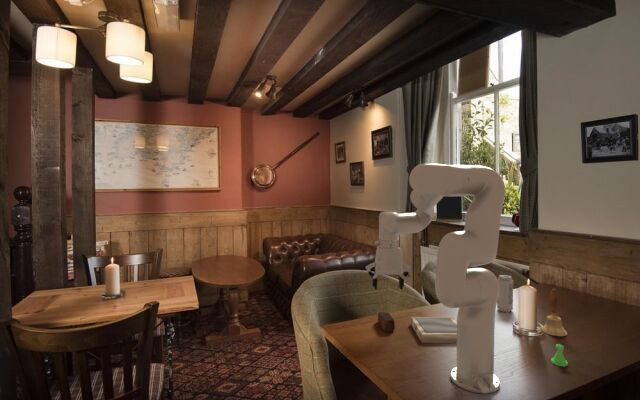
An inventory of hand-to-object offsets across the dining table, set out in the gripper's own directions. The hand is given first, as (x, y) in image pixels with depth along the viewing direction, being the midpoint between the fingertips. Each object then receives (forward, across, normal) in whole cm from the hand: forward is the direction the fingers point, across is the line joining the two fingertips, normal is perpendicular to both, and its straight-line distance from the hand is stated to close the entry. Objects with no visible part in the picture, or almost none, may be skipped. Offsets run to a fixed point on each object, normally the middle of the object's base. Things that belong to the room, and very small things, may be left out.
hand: (388, 288), depth 138 cm
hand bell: (+14, +60, -6) cm, 62 cm away
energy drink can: (+15, +53, +16) cm, 58 cm away
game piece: (+14, +47, -29) cm, 57 cm away
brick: (+15, -1, -1) cm, 15 cm away
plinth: (+15, +17, -7) cm, 24 cm away
